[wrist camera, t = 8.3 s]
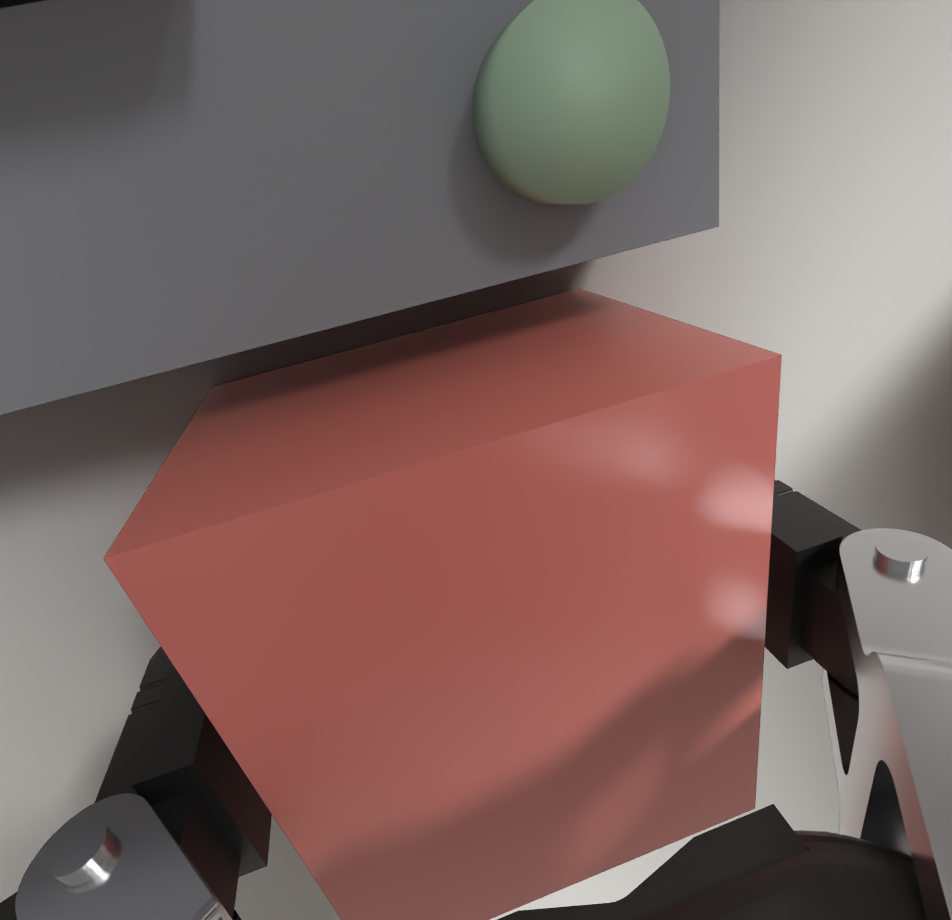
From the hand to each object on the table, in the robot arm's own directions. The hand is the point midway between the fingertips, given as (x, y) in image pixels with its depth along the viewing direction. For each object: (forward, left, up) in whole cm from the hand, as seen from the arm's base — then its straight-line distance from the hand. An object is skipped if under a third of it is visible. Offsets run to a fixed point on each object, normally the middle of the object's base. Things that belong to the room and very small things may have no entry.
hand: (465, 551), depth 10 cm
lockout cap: (0, 0, -1) cm, 1 cm away
